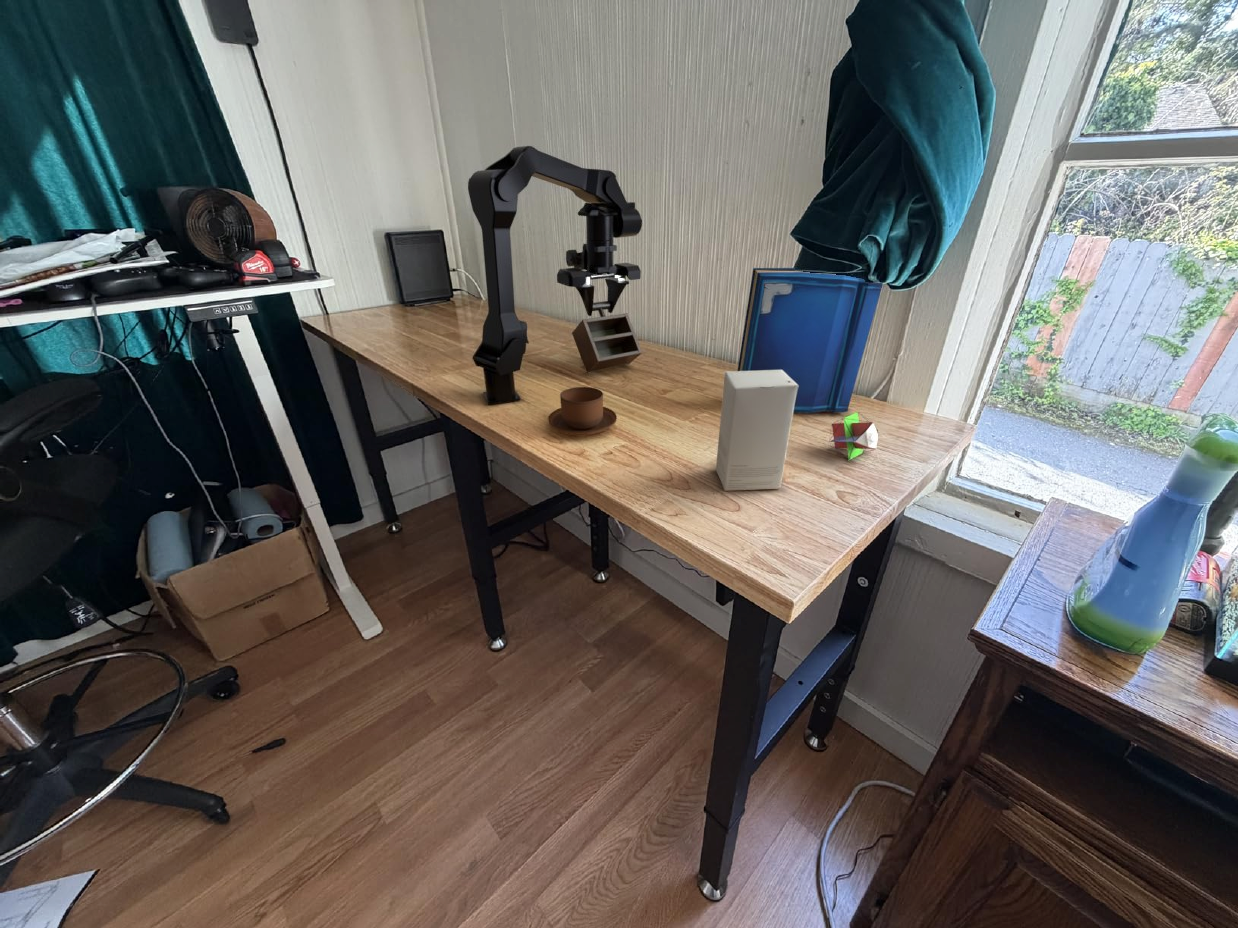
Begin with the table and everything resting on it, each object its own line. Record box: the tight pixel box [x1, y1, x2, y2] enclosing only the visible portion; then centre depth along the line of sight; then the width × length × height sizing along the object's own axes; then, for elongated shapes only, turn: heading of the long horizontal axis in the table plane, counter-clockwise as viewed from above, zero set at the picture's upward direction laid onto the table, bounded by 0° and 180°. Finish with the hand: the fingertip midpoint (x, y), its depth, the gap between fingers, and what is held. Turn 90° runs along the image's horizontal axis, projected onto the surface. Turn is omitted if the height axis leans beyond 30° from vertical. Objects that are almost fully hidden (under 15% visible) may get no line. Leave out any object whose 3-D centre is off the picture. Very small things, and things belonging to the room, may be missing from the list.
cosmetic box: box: [715, 370, 799, 492], centre depth 68 cm, size 8×7×16 cm
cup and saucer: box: [547, 386, 618, 437], centre depth 86 cm, size 12×12×6 cm
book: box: [737, 267, 884, 415], centre depth 89 cm, size 22×7×25 cm, turn 84°
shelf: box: [571, 300, 643, 374], centre depth 113 cm, size 14×12×6 cm
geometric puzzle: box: [828, 410, 880, 461], centre depth 77 cm, size 7×7×8 cm
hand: (600, 314), depth 113 cm, fingers closed on shelf, 5 cm apart
